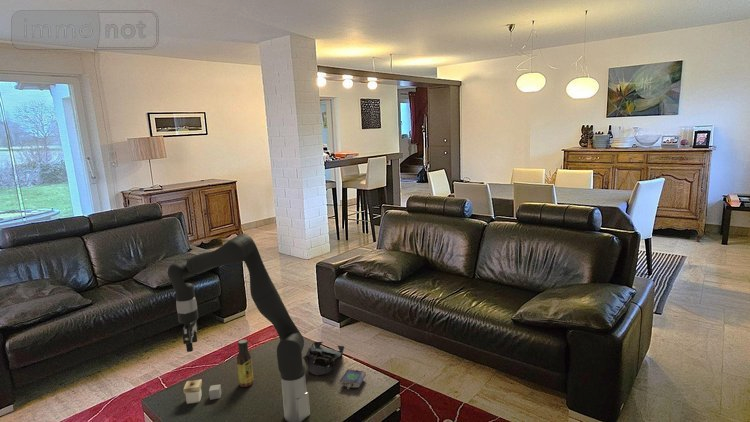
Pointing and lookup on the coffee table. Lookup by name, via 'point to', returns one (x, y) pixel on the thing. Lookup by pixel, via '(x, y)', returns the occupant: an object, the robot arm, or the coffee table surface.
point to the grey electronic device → (352, 378)
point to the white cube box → (193, 397)
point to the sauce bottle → (244, 365)
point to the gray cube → (215, 391)
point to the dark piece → (321, 358)
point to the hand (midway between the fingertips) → (192, 346)
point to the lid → (192, 386)
